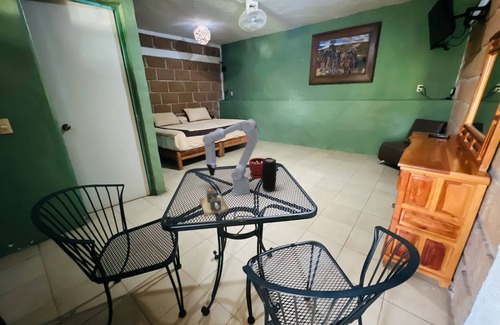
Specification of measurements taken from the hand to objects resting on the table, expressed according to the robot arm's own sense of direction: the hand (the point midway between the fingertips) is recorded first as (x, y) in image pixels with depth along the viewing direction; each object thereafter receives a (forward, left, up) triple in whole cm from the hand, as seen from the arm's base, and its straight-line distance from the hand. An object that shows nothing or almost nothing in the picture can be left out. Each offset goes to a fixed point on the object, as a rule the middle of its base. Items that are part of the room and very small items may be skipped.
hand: (212, 175), depth 124 cm
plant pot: (-35, -9, -10) cm, 37 cm away
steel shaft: (+4, +21, -7) cm, 22 cm away
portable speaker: (-32, +14, -10) cm, 36 cm away
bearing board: (+4, +20, -9) cm, 22 cm away
